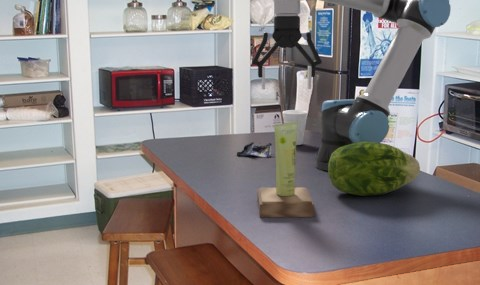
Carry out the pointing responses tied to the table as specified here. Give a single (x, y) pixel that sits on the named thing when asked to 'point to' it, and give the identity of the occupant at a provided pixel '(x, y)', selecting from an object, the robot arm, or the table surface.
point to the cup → (298, 117)
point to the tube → (285, 157)
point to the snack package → (256, 150)
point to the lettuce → (371, 168)
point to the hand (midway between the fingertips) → (286, 88)
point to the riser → (285, 203)
